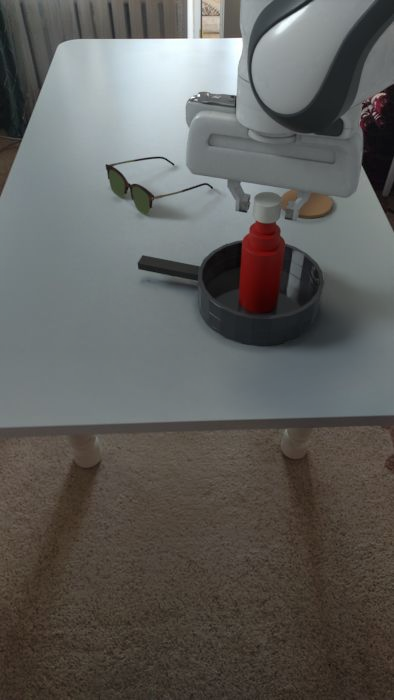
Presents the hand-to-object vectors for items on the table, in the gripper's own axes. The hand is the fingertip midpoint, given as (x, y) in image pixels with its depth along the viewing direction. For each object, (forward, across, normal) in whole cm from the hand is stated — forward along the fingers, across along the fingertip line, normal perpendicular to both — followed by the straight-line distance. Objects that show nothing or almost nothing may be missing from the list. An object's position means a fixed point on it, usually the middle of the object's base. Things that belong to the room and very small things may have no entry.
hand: (266, 213), depth 68 cm
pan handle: (+12, -13, 0) cm, 18 cm away
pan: (+15, 0, 0) cm, 15 cm away
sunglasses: (+15, -24, +25) cm, 38 cm away
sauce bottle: (+14, 0, 0) cm, 14 cm away
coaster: (+15, +2, +28) cm, 32 cm away
